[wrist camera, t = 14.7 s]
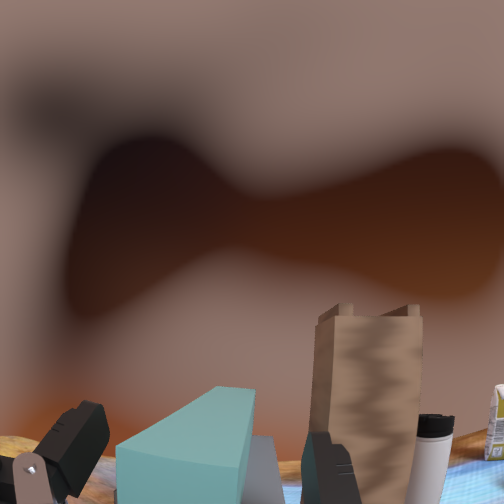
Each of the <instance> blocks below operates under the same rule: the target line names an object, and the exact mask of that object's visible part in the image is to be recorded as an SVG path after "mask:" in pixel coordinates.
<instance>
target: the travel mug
mask: <svg viewBox="0 0 504 504" xmlns="http://www.w3.org/2000/svg"><path fill="white" fill-rule="evenodd" d="M454 418H455V417H454V416H449V417H448V416H442V415H440V414H419V417H418V426H417V435H416V442H415V449H414V456H413V462H412V467H411V473H410V478H409V483H408V488H407V493H406V498H405V502H404V504H439V502H440V498H441V494H442V490H443V486H444V481H445V477H446V472H447V467H448V462H449V456H450V451H451V444H452V436H453V426H454Z"/></svg>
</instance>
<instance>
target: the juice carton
mask: <svg viewBox="0 0 504 504" xmlns="http://www.w3.org/2000/svg"><path fill="white" fill-rule="evenodd" d="M490 460H504V384H500V385H496V386H495V389H494V392H493V395H492V399H491V408H490V417H489V424H488V432H487V438H486V444H485V461H490Z"/></svg>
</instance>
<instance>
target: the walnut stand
mask: <svg viewBox="0 0 504 504" xmlns="http://www.w3.org/2000/svg"><path fill="white" fill-rule="evenodd" d="M422 356H423V317H422V316H420V308H419V305H406V306H403V307H401V308H398V309H396V310H393V311H391V312H388V313H385V314H383V315H380V316H353V304H346V303H345V304H344V303H339V304H337V305H336V306H334V307H333V308H331V309H330V310H328V311H327V312H325V313H324V314H322V315H321V316H319V318H318V325H317V326H315V347H314V366H313V382H312V397H311V408H310V409H311V410H310V421H309V431H308V433H309V432H321V431H328V432H329V433H330V436H331V441H332V444H342V445H343V446H344V447H345V448H346V450H347V451H348V452H349V453H350V457H351V461H352V465H353V469H354V474H355V477H356V481H357V485H358V489H359V493H360V497H361V502H362V504H404V502H405V498H406V493H407V488H408V483H409V478H410V473H411V467H412V462H413V456H414V449H415V442H416V435H417V426H418V417H419V407H420V394H421V380H422ZM300 504H304V498H303V486H302V494H301V501H300Z"/></svg>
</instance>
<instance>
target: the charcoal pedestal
mask: <svg viewBox="0 0 504 504" xmlns="http://www.w3.org/2000/svg"><path fill="white" fill-rule="evenodd" d="M114 504H117V489H116V490H115V491H114ZM241 504H285V500H284V494H283V489H282V484H281V478H280V473H279V468H278V462H277V457H276V452H275V446H274V441H273V436H257V435H252V436H251V443H250V450H249V457H248V463H247V470H246V476H245V483H244V489H243V495H242V502H241Z"/></svg>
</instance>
